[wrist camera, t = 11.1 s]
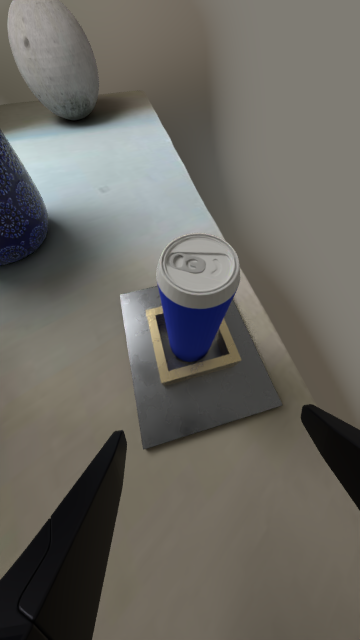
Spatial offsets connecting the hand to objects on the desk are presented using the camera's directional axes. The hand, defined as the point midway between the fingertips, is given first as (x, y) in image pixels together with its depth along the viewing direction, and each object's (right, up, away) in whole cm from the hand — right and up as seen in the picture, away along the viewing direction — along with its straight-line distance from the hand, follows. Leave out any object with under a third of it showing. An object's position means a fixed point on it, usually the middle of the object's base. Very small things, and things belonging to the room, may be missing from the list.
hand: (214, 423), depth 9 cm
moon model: (-34, +70, +50) cm, 92 cm away
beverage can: (0, +2, +15) cm, 15 cm away
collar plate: (0, +2, +16) cm, 16 cm away
